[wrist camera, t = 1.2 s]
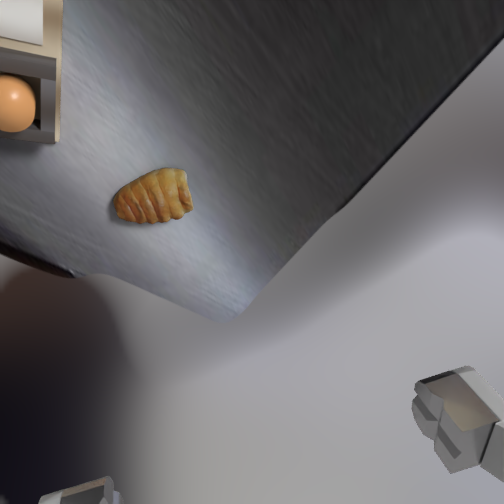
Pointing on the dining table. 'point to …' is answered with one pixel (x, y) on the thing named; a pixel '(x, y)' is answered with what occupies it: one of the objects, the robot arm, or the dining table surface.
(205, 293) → the dining table surface
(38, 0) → the beige board with holder
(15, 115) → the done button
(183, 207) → the pastry
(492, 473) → the robot arm
